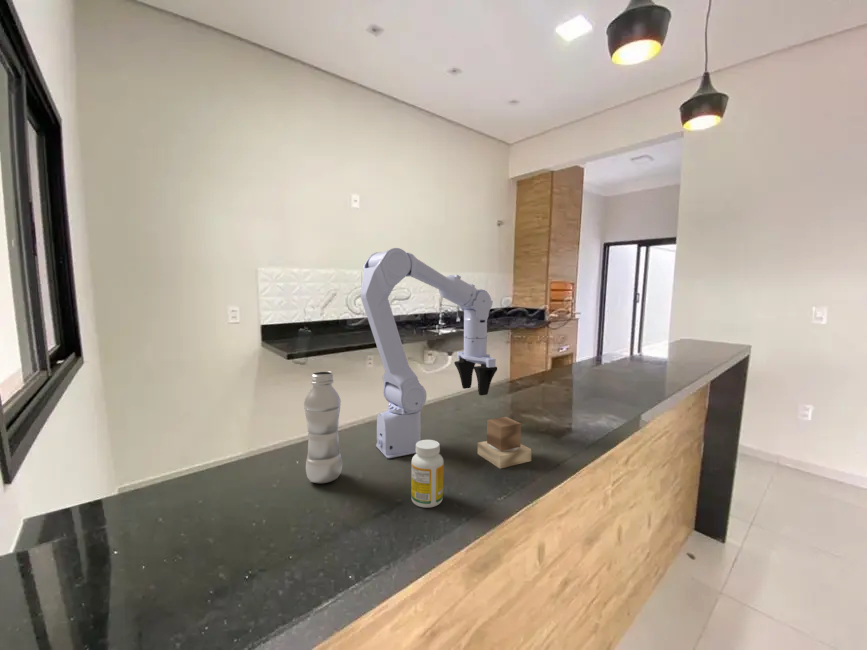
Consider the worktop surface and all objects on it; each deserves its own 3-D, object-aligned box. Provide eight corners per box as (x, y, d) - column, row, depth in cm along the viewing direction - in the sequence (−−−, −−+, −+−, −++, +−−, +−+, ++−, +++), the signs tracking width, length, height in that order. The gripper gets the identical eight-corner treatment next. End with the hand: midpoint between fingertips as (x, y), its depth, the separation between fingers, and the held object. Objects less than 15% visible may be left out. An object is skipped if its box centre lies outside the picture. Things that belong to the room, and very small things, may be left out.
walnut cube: (501, 451, 77) (501, 426, 76) (486, 442, 81) (487, 419, 81) (520, 446, 79) (520, 423, 79) (505, 438, 83) (506, 416, 83)
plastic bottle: (350, 476, 71) (348, 372, 70) (322, 492, 66) (320, 378, 64) (325, 468, 75) (323, 368, 73) (297, 482, 69) (295, 374, 68)
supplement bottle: (417, 511, 60) (417, 452, 59) (406, 495, 65) (406, 440, 64) (448, 504, 62) (448, 447, 61) (435, 489, 67) (436, 436, 66)
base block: (499, 468, 75) (500, 454, 75) (477, 453, 82) (477, 441, 82) (531, 460, 79) (531, 447, 78) (507, 447, 86) (507, 435, 85)
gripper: (506, 339, 90) (505, 396, 91) (472, 334, 103) (472, 383, 103) (481, 341, 86) (480, 399, 87) (450, 335, 99) (450, 386, 100)
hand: (474, 391), depth 95 cm, fingers open, 7 cm apart
